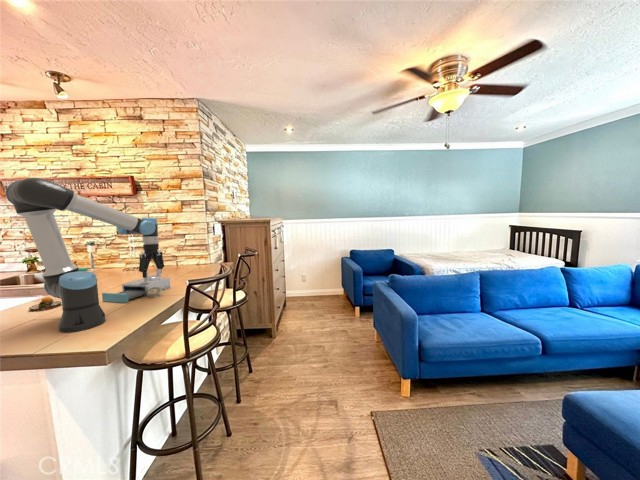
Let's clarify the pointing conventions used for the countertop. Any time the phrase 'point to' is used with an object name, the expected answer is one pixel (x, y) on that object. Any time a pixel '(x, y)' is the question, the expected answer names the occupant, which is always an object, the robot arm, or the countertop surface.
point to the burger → (45, 304)
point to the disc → (154, 277)
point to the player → (147, 285)
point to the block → (154, 292)
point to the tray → (123, 295)
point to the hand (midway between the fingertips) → (152, 281)
